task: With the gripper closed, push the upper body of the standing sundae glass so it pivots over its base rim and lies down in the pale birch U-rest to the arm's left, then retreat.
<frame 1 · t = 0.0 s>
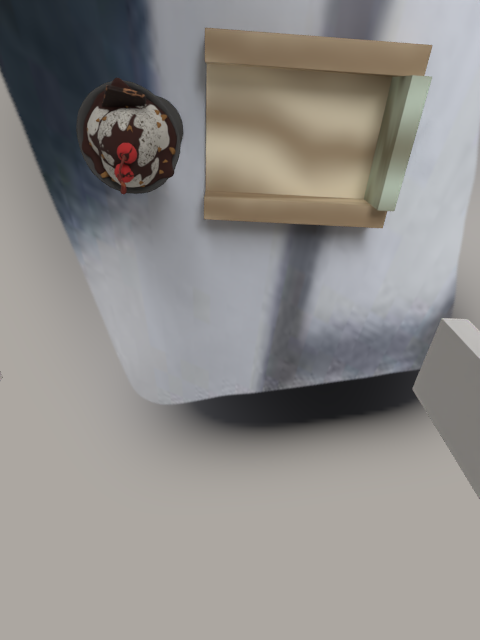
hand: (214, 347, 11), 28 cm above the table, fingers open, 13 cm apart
rest: (300, 137, 33), on the table
sundae: (156, 128, 33), on the table
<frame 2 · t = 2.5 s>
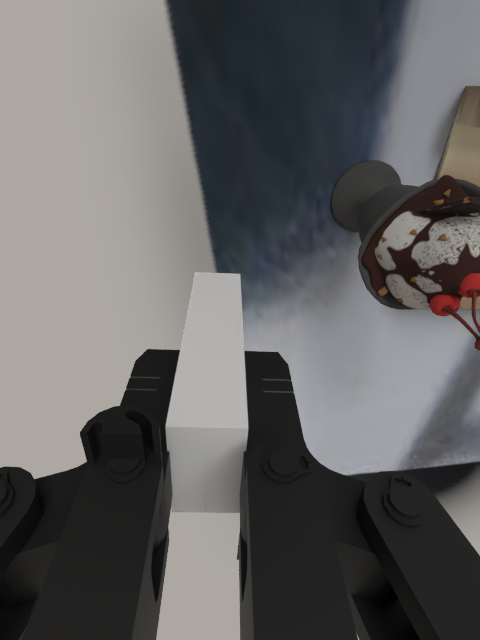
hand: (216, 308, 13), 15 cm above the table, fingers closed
sundae: (365, 197, 26), on the table
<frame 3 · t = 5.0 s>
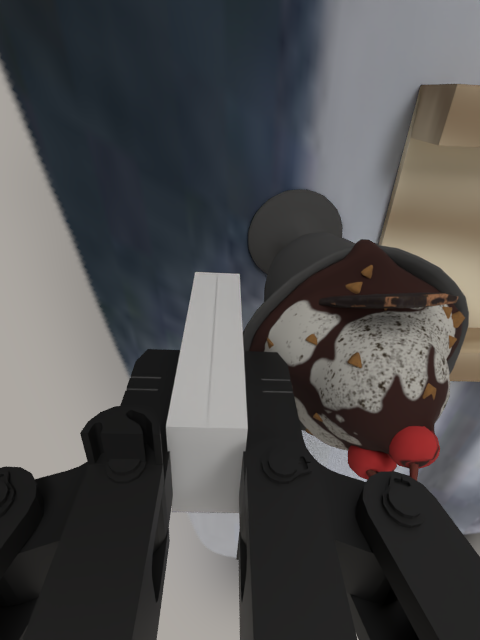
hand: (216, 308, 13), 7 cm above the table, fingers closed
sundae: (294, 236, 19), on the table, touching gripper
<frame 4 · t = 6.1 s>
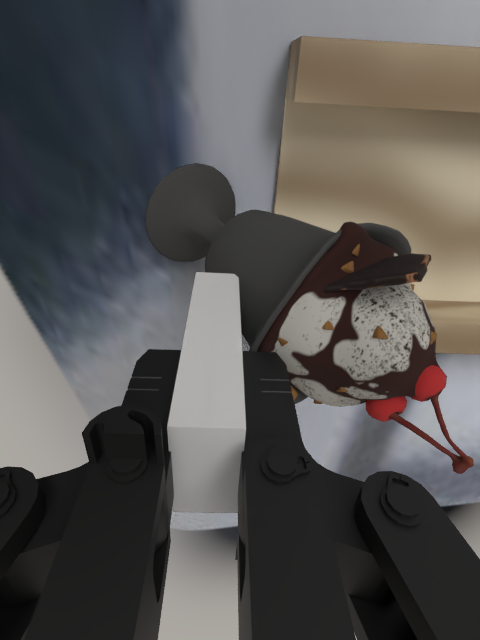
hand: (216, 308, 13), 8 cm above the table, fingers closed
rest: (431, 215, 20), on the table
sundae: (191, 214, 18), point 1 cm above the table, touching gripper
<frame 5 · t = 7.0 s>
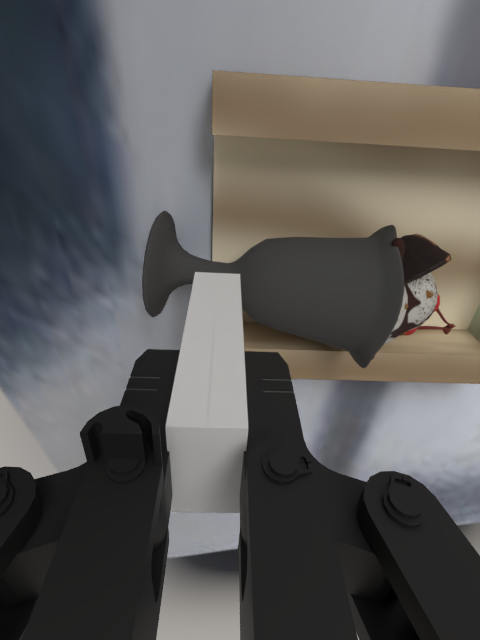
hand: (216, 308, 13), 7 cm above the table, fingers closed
rest: (372, 243, 19), on the table
sundae: (155, 264, 17), point 2 cm above the table, touching rest
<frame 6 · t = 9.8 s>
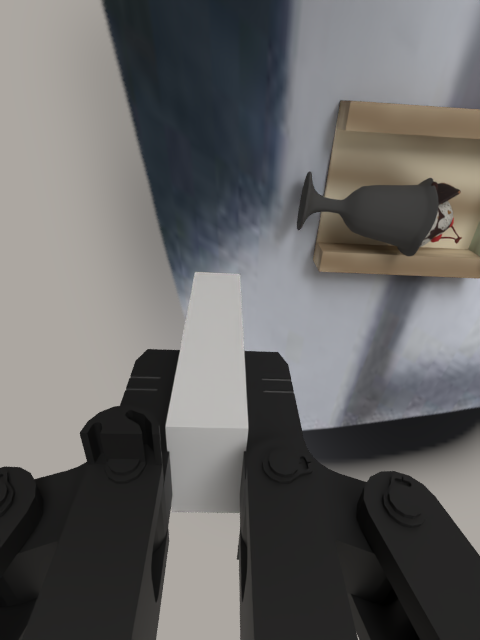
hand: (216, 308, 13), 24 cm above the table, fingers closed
rest: (414, 193, 34), on the table
sundae: (300, 201, 32), point 2 cm above the table, touching rest
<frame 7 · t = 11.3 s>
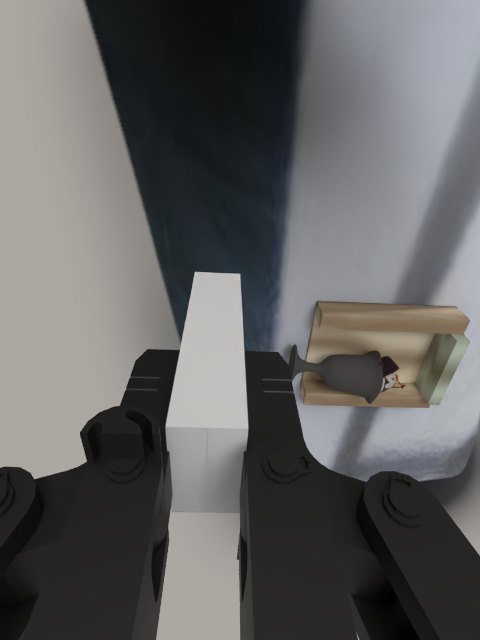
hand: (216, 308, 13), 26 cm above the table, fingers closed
rest: (372, 350, 47), on the table
sundae: (289, 363, 45), point 2 cm above the table, touching rest
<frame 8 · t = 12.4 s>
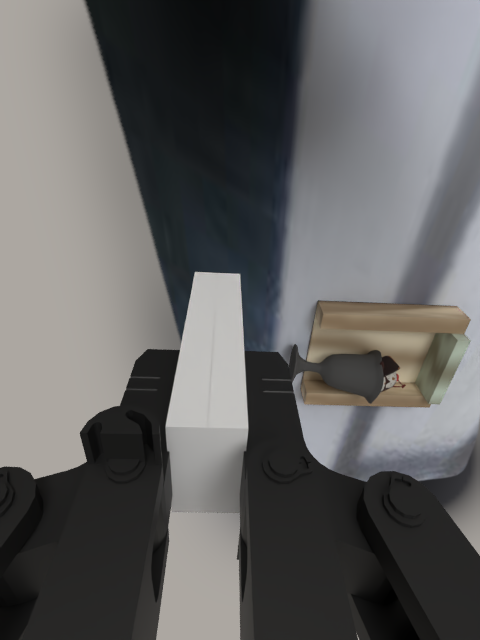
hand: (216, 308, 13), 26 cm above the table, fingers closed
rest: (373, 350, 47), on the table
sundae: (290, 363, 45), point 2 cm above the table, touching rest
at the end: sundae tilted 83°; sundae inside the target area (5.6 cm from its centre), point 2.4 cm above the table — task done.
